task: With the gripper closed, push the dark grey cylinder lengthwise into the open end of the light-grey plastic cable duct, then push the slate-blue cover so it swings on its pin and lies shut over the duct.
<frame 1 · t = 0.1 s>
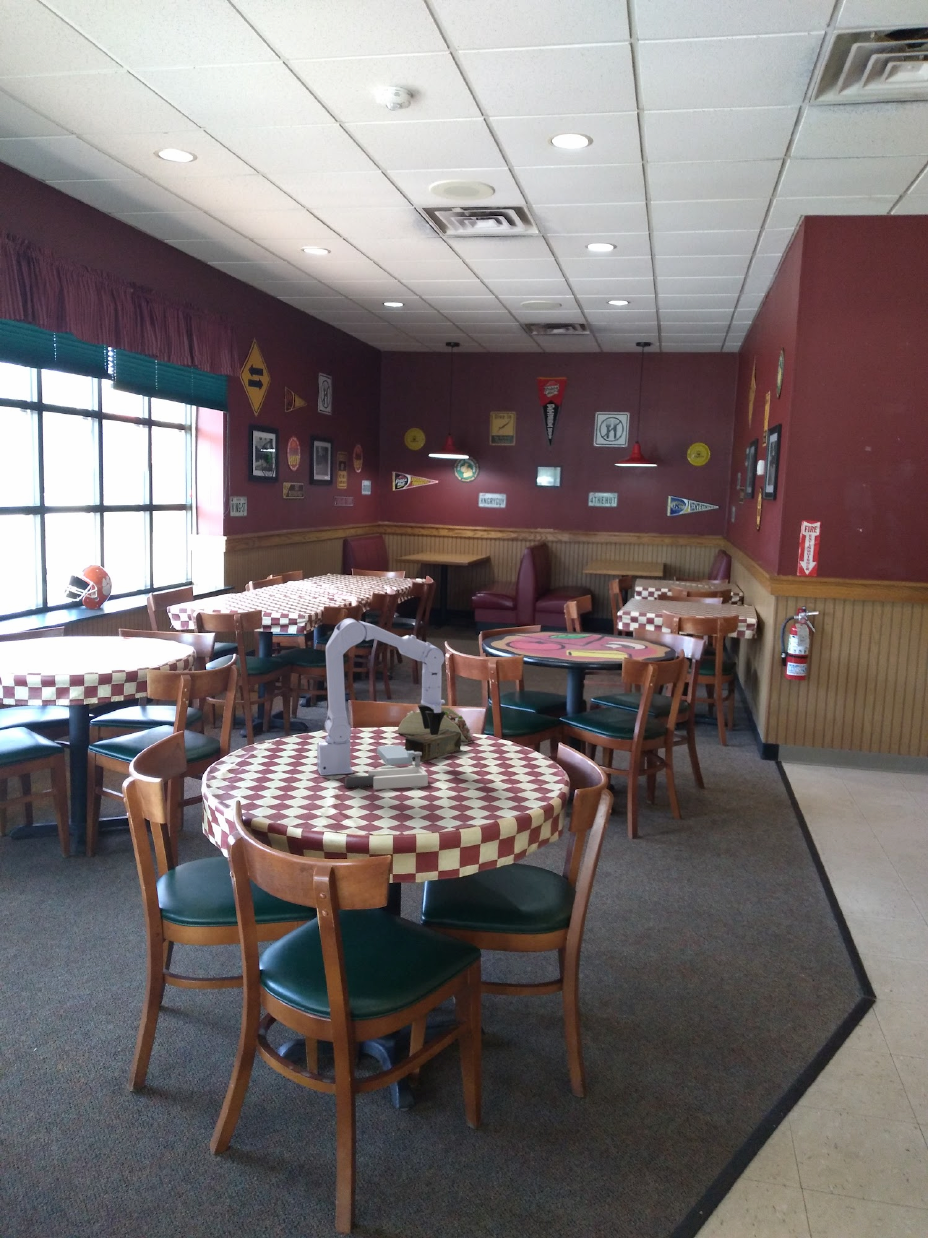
hand: (431, 731, 272), 10 cm above the table, tool pointing down, fingers open, 7 cm apart
taco: (434, 738, 307), on the table
dark grey cylinder: (360, 787, 251), on the table, tilted 5°
cover: (399, 753, 265), point 5 cm above the table, hinge at -90.0°
duct: (397, 783, 254), on the table
brown box-shaped piece: (433, 754, 286), on the table
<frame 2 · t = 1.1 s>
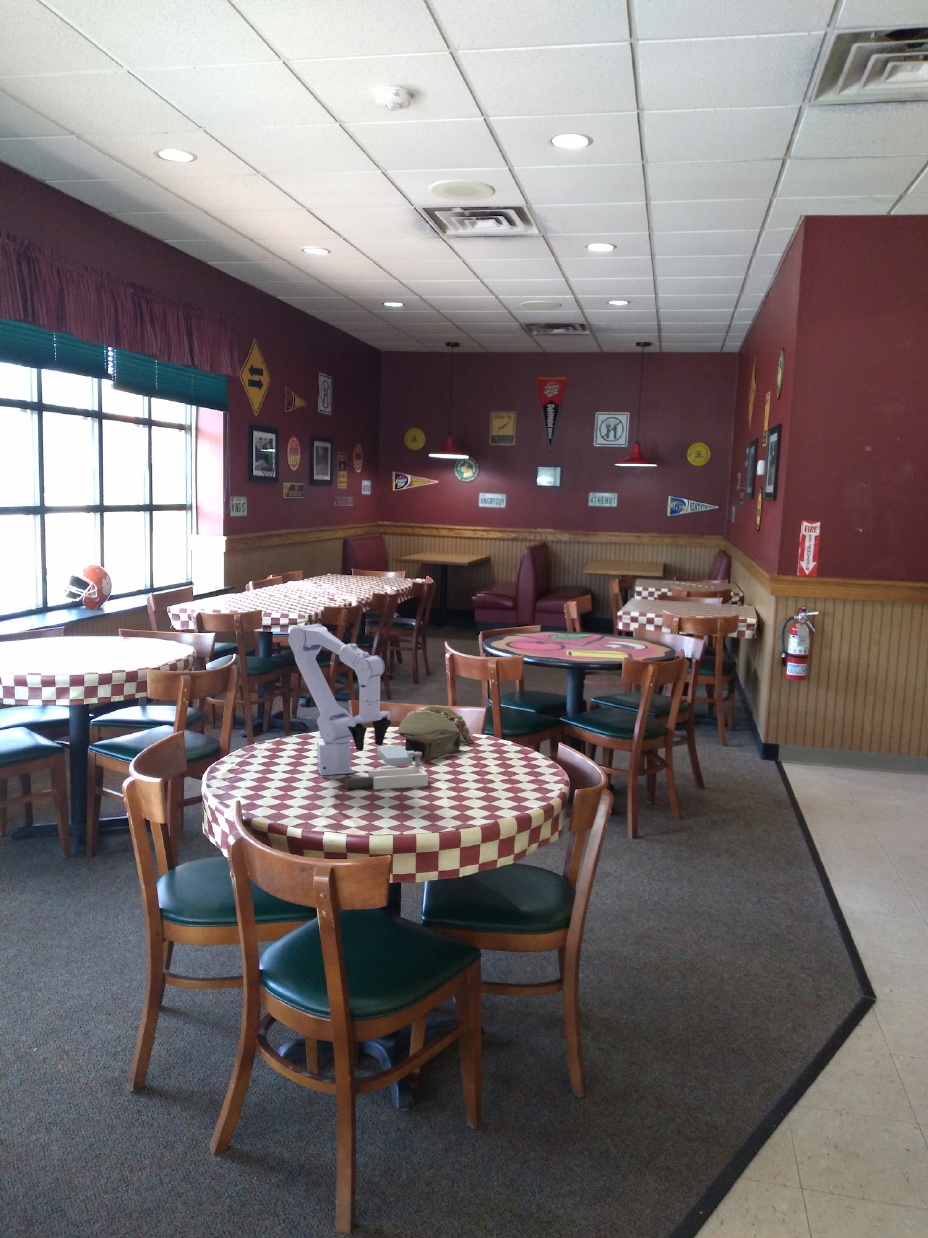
hand: (369, 747, 257), 9 cm above the table, tool pointing down, fingers open, 7 cm apart
dark grey cylinder: (360, 785, 251), on the table, tilted 51°
everything else where it was.
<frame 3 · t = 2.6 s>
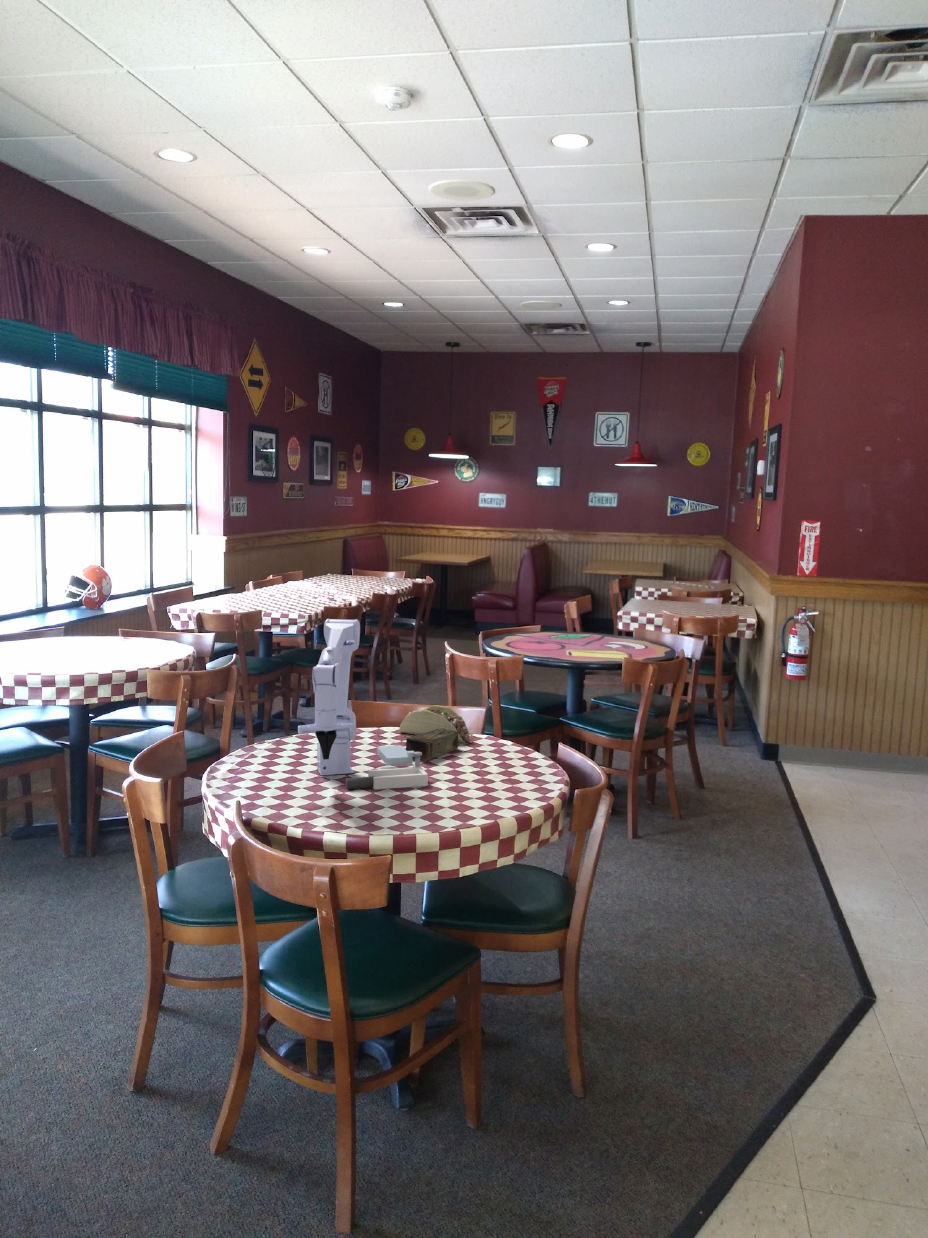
hand: (325, 758, 247), 8 cm above the table, tool pointing down, fingers closed
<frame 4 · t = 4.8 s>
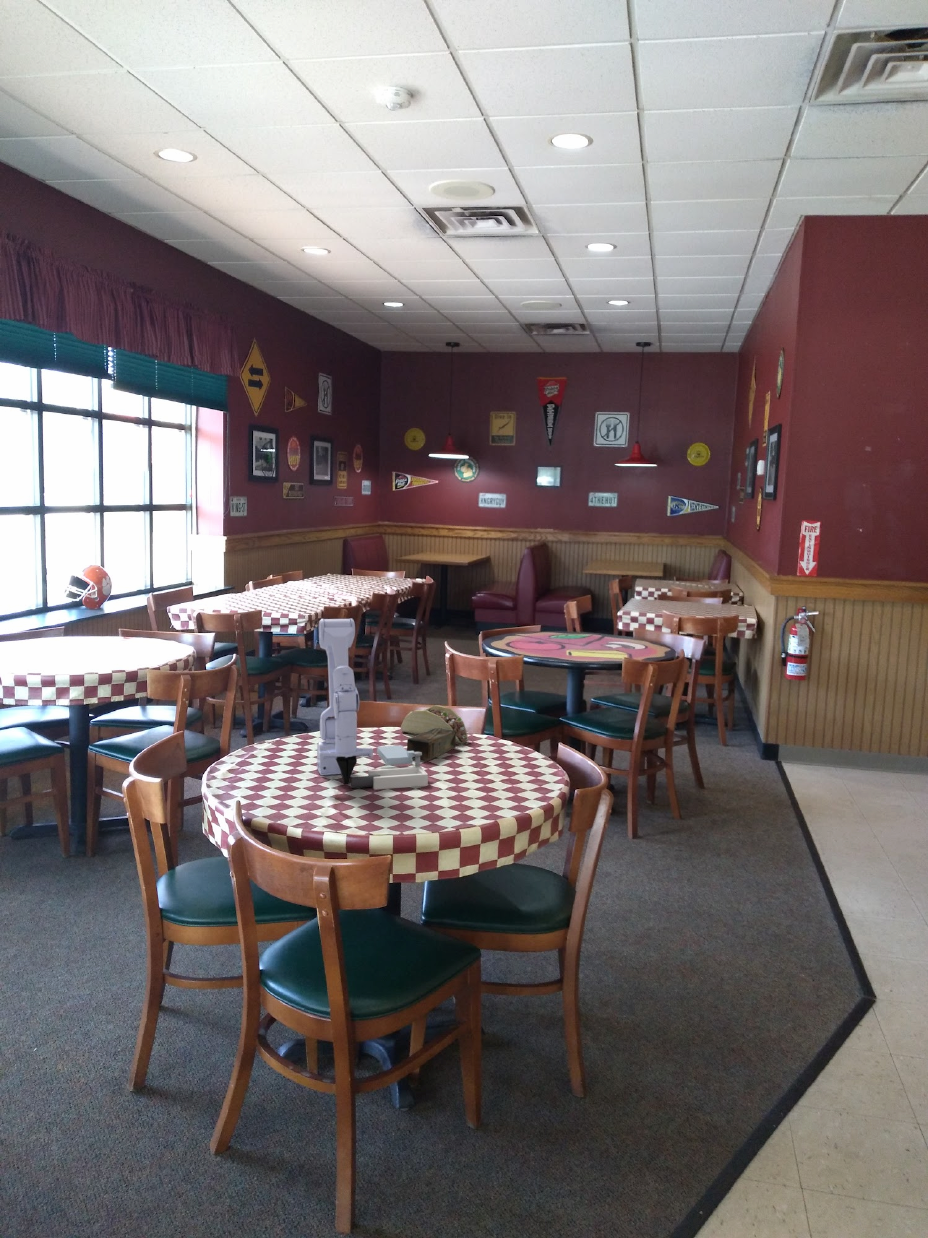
hand: (346, 783, 249), 1 cm above the table, tool pointing down, fingers closed
dark grey cylinder: (364, 784, 251), point 1 cm above the table, tilted 49°, touching gripper
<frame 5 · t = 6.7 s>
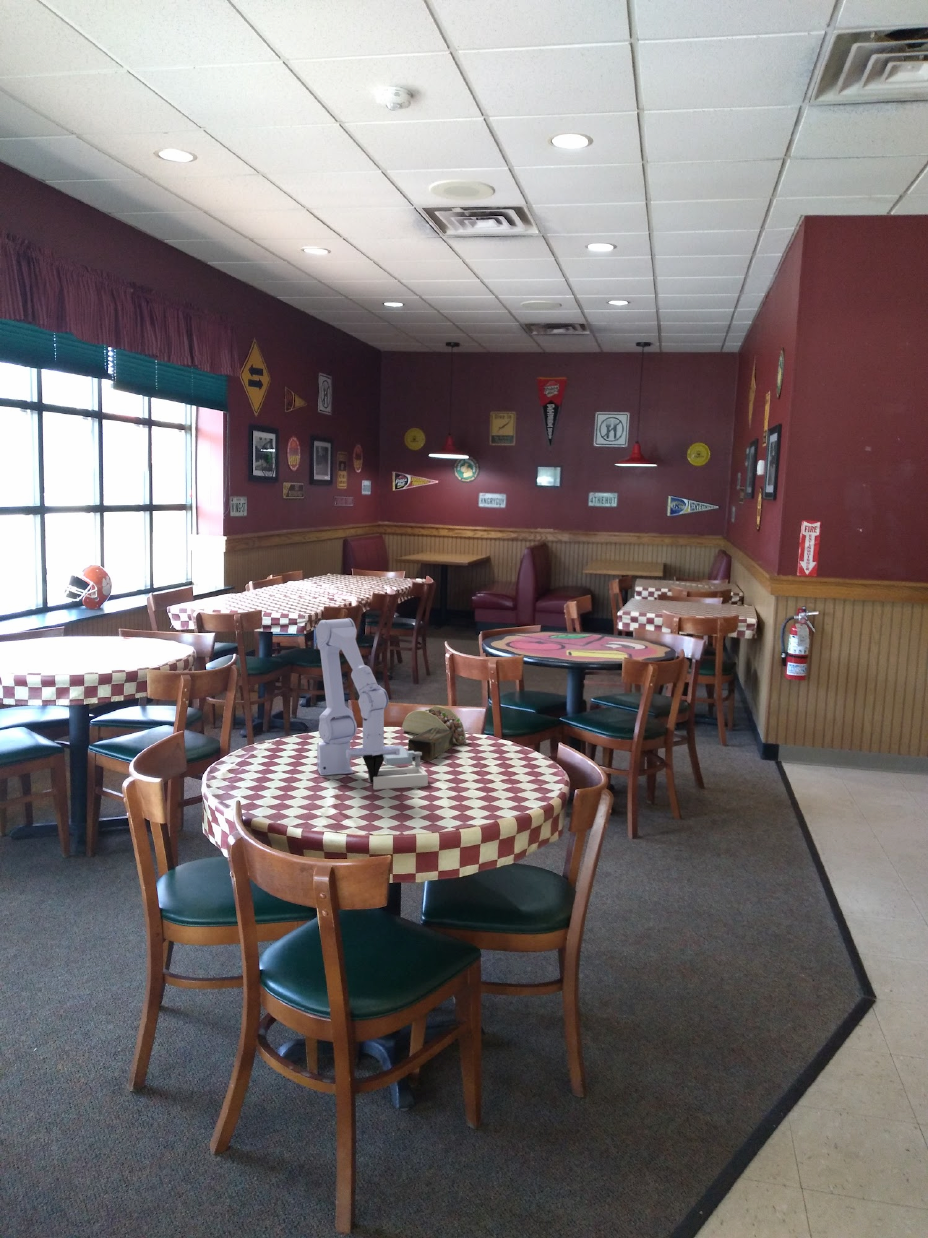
hand: (372, 781, 252), 1 cm above the table, tool pointing down, fingers closed
dark grey cylinder: (391, 782, 253), point 1 cm above the table, tilted 50°, touching gripper
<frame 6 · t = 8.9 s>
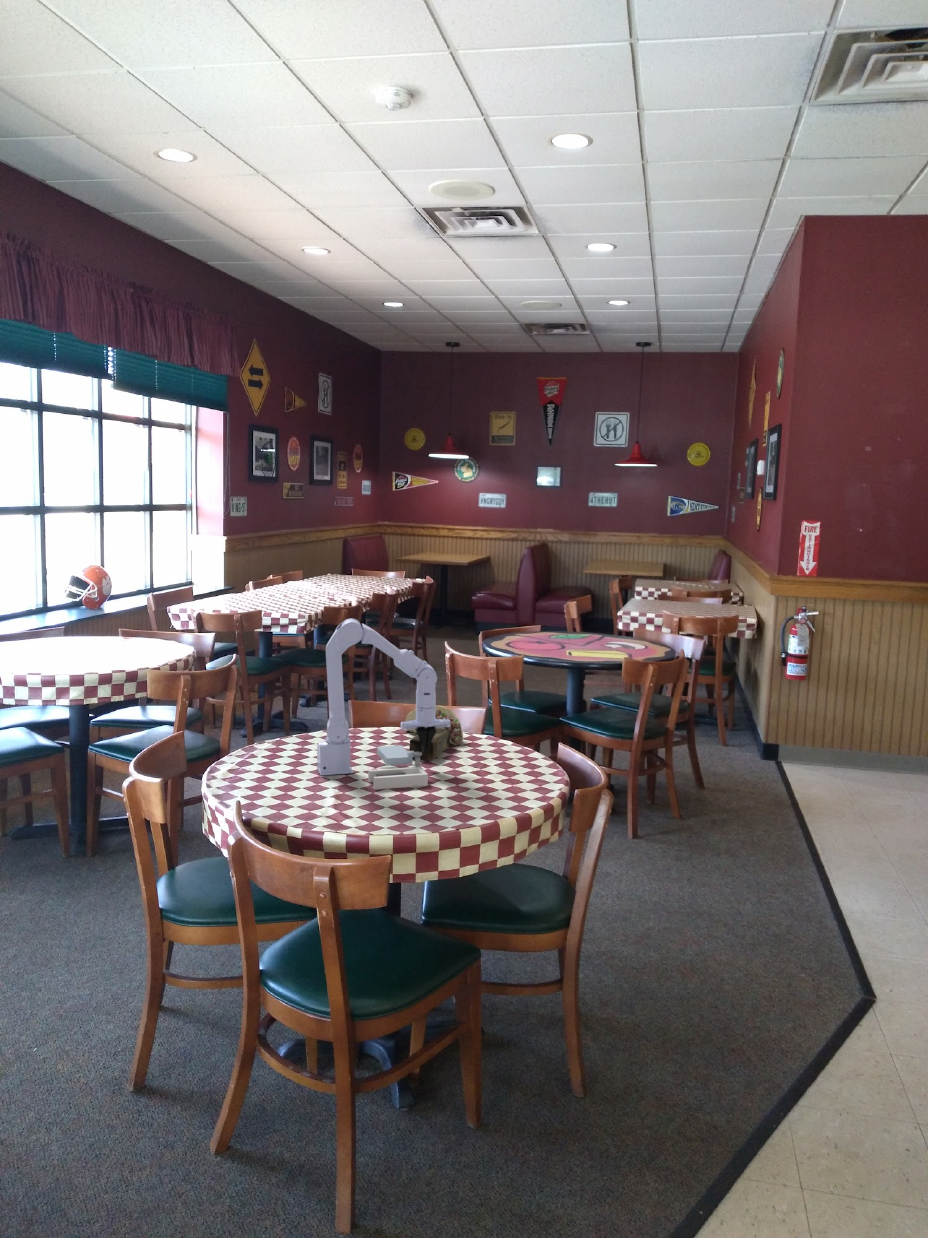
hand: (425, 752, 268), 5 cm above the table, tool pointing down, fingers closed
dark grey cylinder: (391, 784, 253), resting in duct, tilted 26°
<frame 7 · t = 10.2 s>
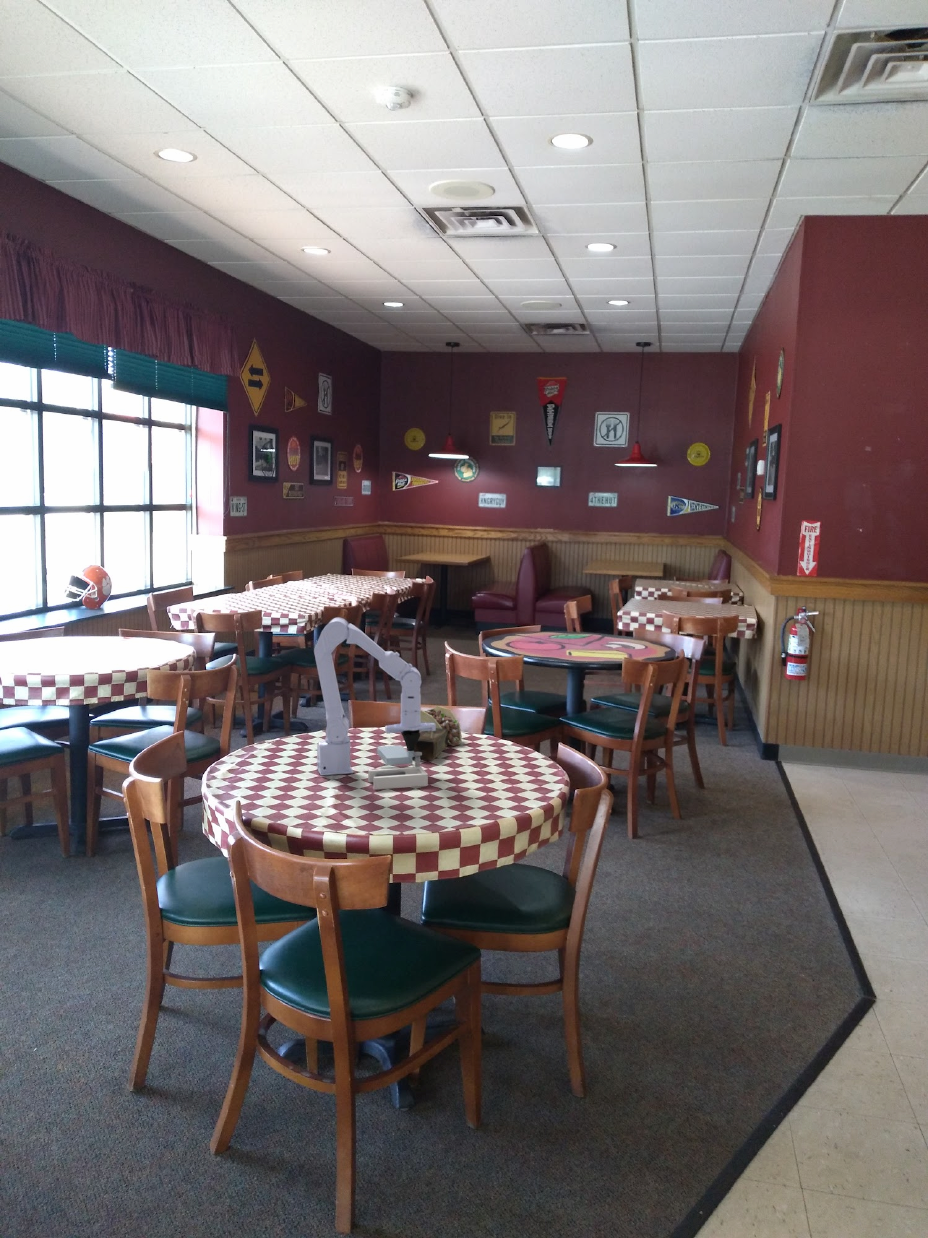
hand: (410, 756, 266), 4 cm above the table, tool pointing down, fingers closed, pressing on cover
dark grey cylinder: (391, 782, 253), resting in duct, tilted 48°
cover: (399, 753, 265), point 5 cm above the table, hinge at -89.9°, touching gripper
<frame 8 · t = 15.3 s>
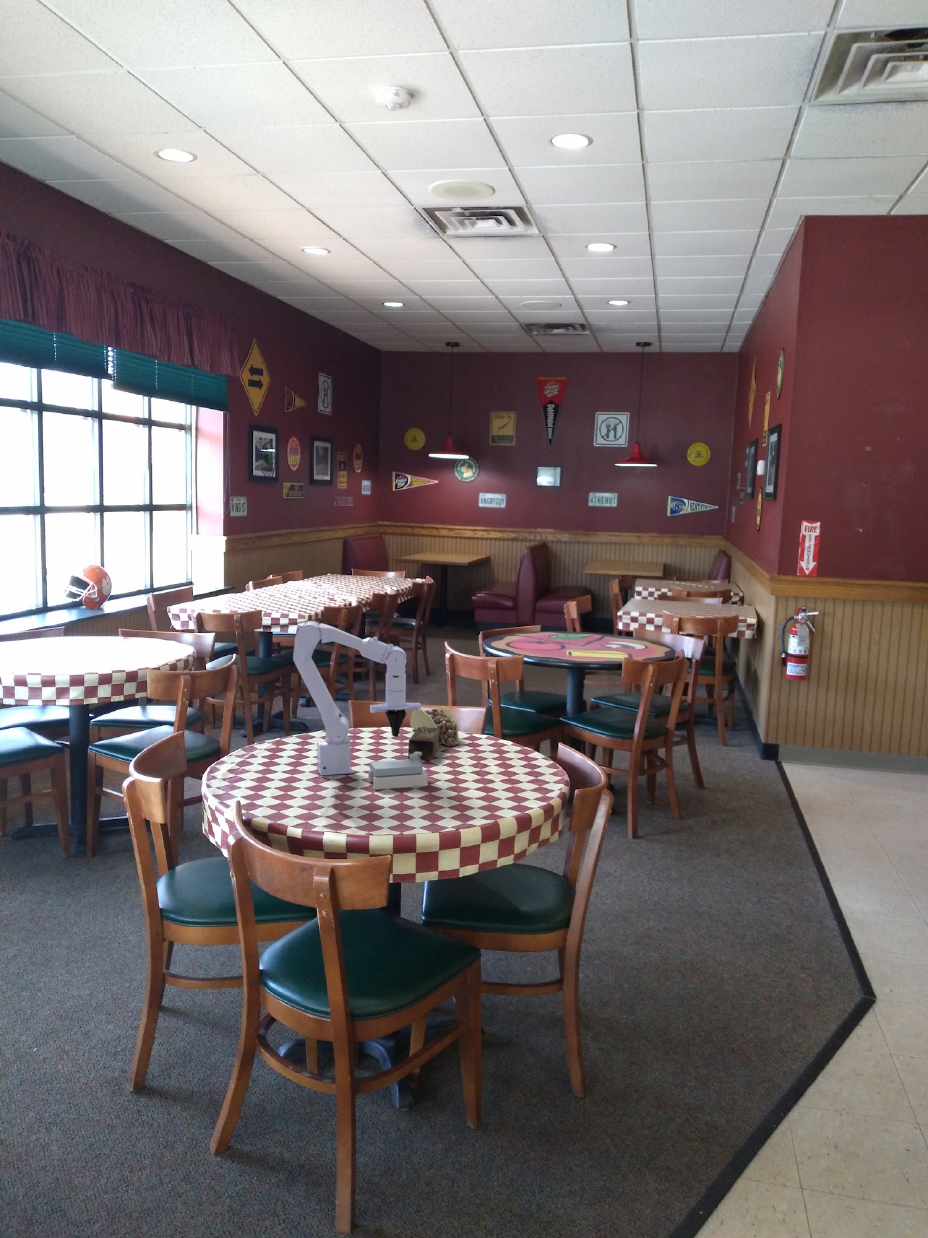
hand: (395, 735, 265), 10 cm above the table, tool pointing down, fingers closed
dark grey cylinder: (391, 783, 253), resting in duct, tilted 41°
cover: (398, 763, 255), point 5 cm above the table, hinge at 0.4°
brown box-shaped piece: (424, 753, 287), on the table
at the end: dark grey cylinder inside the target area on the duct (1.8 cm from its centre), point 0.2 cm above the duct's base; cover at +0° (first picture: -90°) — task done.
